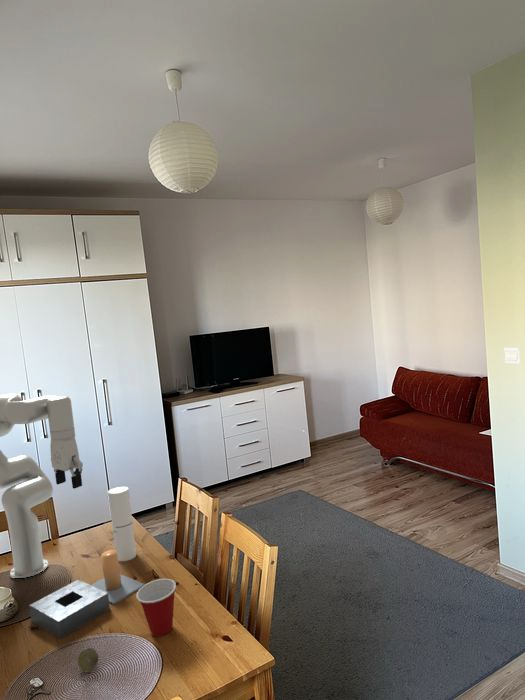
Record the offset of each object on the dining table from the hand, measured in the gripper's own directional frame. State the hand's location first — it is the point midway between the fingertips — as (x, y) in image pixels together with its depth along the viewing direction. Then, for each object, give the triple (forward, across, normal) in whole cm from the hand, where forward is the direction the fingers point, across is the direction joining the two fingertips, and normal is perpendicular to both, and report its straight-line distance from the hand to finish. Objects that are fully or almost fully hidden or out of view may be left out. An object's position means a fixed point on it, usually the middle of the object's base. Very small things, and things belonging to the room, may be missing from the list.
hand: (69, 485), depth 169 cm
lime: (+34, +41, -24) cm, 58 cm away
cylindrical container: (+34, -1, +19) cm, 39 cm away
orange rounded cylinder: (+33, +14, +3) cm, 36 cm away
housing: (+33, +15, -13) cm, 39 cm away
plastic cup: (+34, +45, -4) cm, 56 cm away
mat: (+33, +14, +3) cm, 36 cm away
